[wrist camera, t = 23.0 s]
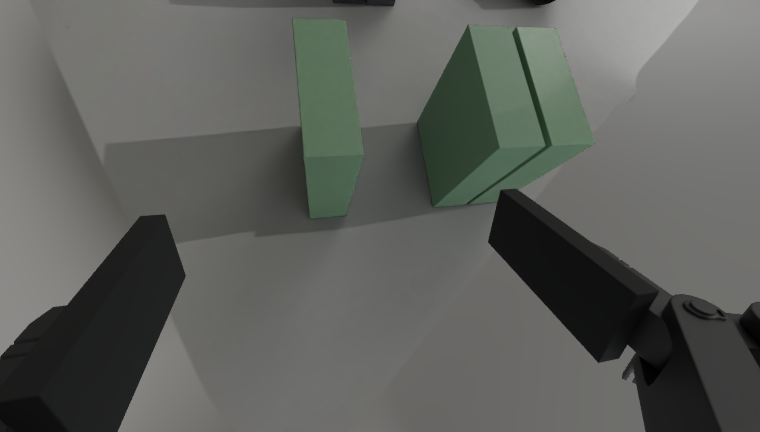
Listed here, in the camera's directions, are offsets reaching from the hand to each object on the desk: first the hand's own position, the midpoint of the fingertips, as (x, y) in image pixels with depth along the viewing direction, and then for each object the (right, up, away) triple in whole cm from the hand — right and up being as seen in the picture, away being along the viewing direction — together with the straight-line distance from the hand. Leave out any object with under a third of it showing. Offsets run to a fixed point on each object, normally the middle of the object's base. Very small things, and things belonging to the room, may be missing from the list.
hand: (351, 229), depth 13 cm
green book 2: (+12, +7, +23) cm, 26 cm away
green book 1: (+8, +6, +22) cm, 24 cm away
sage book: (-4, +5, +19) cm, 20 cm away
